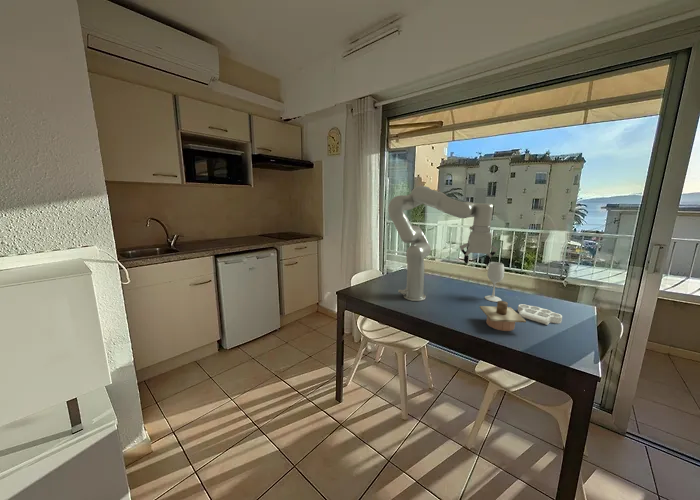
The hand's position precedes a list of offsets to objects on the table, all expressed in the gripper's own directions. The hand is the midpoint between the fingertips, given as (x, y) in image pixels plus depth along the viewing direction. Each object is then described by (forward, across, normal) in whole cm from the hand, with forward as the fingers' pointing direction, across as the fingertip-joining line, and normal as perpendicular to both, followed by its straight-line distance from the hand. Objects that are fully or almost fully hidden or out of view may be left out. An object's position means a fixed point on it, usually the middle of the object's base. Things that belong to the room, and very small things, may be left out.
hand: (476, 263), depth 131 cm
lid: (+19, +9, -14) cm, 26 cm away
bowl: (+24, +9, -15) cm, 30 cm away
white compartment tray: (+24, +30, -4) cm, 39 cm away
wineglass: (+25, +17, +18) cm, 35 cm away
